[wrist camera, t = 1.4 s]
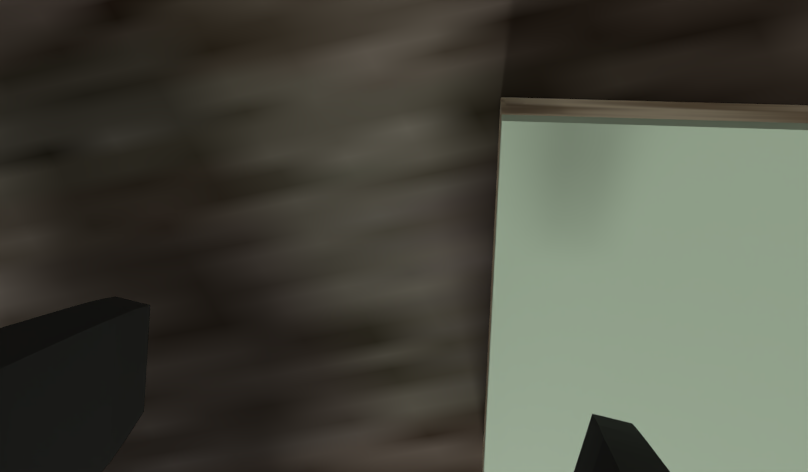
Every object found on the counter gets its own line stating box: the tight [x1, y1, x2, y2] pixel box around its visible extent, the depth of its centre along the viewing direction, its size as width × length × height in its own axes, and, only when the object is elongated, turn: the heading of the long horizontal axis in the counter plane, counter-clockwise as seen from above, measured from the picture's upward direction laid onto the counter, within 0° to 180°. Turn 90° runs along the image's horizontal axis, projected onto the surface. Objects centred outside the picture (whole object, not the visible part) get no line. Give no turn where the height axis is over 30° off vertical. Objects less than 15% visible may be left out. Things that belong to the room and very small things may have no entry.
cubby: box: [482, 97, 808, 472], centre depth 18 cm, size 14×11×6 cm
